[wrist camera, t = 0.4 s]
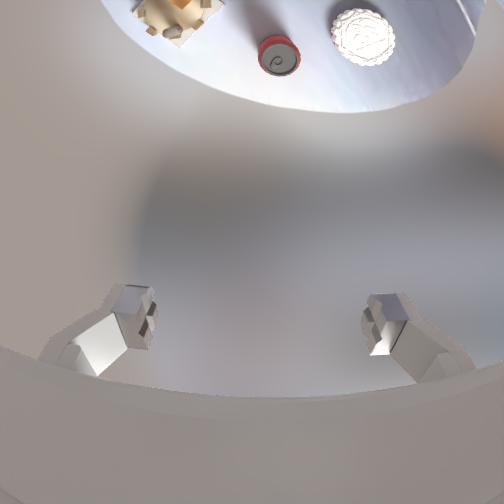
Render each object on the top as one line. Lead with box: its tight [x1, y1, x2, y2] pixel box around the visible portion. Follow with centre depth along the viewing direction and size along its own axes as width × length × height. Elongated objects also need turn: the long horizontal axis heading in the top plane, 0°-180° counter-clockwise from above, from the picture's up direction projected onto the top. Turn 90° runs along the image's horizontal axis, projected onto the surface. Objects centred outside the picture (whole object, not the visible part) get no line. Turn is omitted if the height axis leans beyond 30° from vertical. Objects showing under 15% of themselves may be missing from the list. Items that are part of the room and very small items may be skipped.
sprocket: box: [138, 0, 212, 40], centre depth 31 cm, size 13×13×8 cm
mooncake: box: [331, 8, 395, 66], centre depth 36 cm, size 12×12×4 cm
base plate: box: [132, 0, 225, 48], centre depth 34 cm, size 12×13×1 cm
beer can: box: [258, 35, 301, 76], centre depth 38 cm, size 7×7×12 cm
